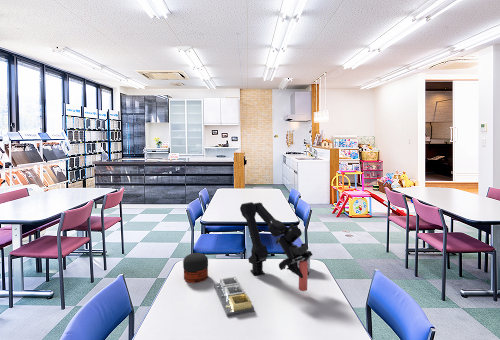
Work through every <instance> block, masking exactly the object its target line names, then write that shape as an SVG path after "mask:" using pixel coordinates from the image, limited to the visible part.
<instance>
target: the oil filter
mask: <svg viewBox="0 0 500 340" xmlns="http://www.w3.org/2000/svg"><path fill="white" fill-rule="evenodd" d="M182 265H183V266H182V267H183V280H184V281H185V282H186V283H190V284H192V283H193V284H197V283H202V282H204V281H206V280H208V278H209V258H208V256H207V255H205V254H204V253H201V252H193V253H190V254H187V255H186V256H184V258H183V260H182Z"/></svg>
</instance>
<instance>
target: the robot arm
mask: <svg viewBox="0 0 500 340" xmlns="http://www.w3.org/2000/svg"><path fill="white" fill-rule="evenodd" d="M239 209H240V212H241V216H242V217H243V218H244V219H245V221H246V224H247V228H248V232H249V235H250V240H251V244H252V247H251V250H250V252H251V255H250V256H249V258H248V263H249V264H252V265H251V266H252V269H250V273H251V274H252V275H253V276H260V275H265V274H266V273H265V271H264V270H263V267H264V265H263V264H264V262H266V261H267V259H268V255H269V251H268V247H267V245H264V244H263V243H262V241H261V236H260V231H259V227H258V225H257V220H256V214H257V215H258V216H259V217H260V218H261V219H262V220H263V222H264V223H265V224H266V226H268V229H267V230H268V232H270V234H271V235H272V237H274V238H276V237H277V238H276V241H275V244H276V245H278V244H279V245H280V247H281V249H282V250H283V252H282V254H283V255H285V256H286V257H287V258H284V259H283V260H281V262H280V263H278V268H279V270H280V271H282V270H284V269H285V270H287V271H288V270H289V271H290V272H291V271H292V273H293V274H295V275H296V276H298V278H299V277H300V278H303V275H302V273H301V271H300V270H299V268H298V265H299V264H297V261H307V260H308V258H310V259H311V257H312V256H313V255H314V254H313V253H312V251H310V250H309V246H308V244H307V243H306V242H303V243H301V244H300V246H298V245H297V244H294V242H296V241H297V240H298V239H299V238H300V237H301V236H302V235H303V234H302V230H301V229H300V228H299V227H298V226H297V225H296V226H295V225H294V224H293V223H292V224H290V225H289V226H286V225H285V224H284V223H283V222H282V221H280V220H278V219H276V218H275V217H274V216H273V215H272V214H271V213H270V212H269V211H268V210H267V209H266V208H265V207H264V205H263V202H253V201H251V202H245V203H241V205H240V207H239ZM307 250H309V251H307ZM286 267H287V268H286ZM309 275H310V272H309V271H308V276H309Z"/></svg>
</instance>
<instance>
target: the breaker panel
mask: <svg viewBox="0 0 500 340" xmlns="http://www.w3.org/2000/svg"><path fill="white" fill-rule="evenodd" d="M213 287H214V290H215V292H216V295H217V297H218V299H219V302H220V304H221V306H222V308H223V310H224V313H225V315H226V317H231V316H237V315H238V316H239V315H242V314H243V315H244V314H247V313H253V312H255V307H254V305H253V303H252V301H251V299H250V298H249V296H248V294H247V293H246V291H245V289H244V288H243V286H242V285H241V283H240V281H239V280H238V278H237V277H236V276H229V277H222V278H219V283H214V284H213Z"/></svg>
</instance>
